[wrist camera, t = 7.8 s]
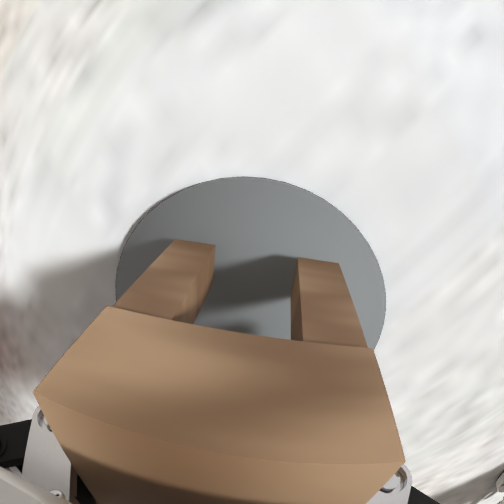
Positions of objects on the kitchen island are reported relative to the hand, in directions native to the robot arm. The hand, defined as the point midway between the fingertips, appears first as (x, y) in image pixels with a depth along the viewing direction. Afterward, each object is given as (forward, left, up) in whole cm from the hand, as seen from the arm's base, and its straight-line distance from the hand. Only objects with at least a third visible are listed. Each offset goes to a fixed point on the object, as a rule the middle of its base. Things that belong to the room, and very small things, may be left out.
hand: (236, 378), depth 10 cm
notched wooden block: (0, 0, -3) cm, 3 cm away
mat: (0, 0, -4) cm, 4 cm away
